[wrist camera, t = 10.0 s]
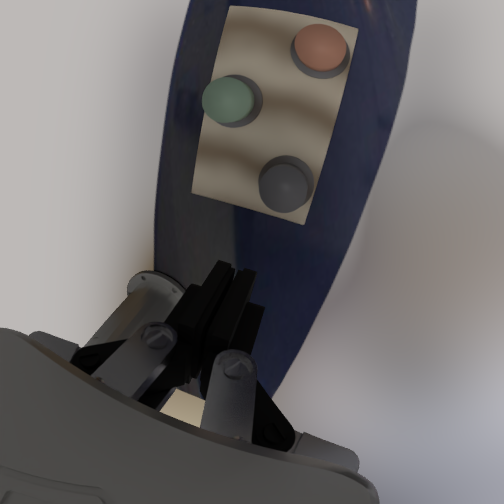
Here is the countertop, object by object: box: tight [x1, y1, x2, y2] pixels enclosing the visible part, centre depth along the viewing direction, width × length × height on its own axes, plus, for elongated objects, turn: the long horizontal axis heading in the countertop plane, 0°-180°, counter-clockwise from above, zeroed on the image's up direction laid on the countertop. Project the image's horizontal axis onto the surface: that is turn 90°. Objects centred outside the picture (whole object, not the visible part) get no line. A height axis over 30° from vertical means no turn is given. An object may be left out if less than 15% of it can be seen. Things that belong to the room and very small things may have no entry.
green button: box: [202, 77, 254, 123], centre depth 23 cm, size 4×4×2 cm
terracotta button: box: [295, 24, 346, 72], centre depth 18 cm, size 4×4×2 cm
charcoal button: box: [259, 163, 308, 213], centre depth 26 cm, size 4×4×2 cm
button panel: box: [191, 6, 358, 225], centre depth 25 cm, size 22×13×3 cm, turn 168°
